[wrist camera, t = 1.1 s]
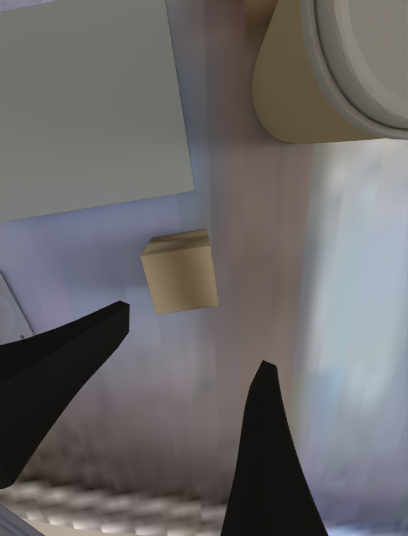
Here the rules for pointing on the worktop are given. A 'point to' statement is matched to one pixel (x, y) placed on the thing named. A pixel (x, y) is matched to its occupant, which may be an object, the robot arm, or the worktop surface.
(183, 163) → the gray board
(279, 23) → the coffee cup
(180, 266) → the maple cube
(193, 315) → the worktop surface
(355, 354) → the worktop surface
